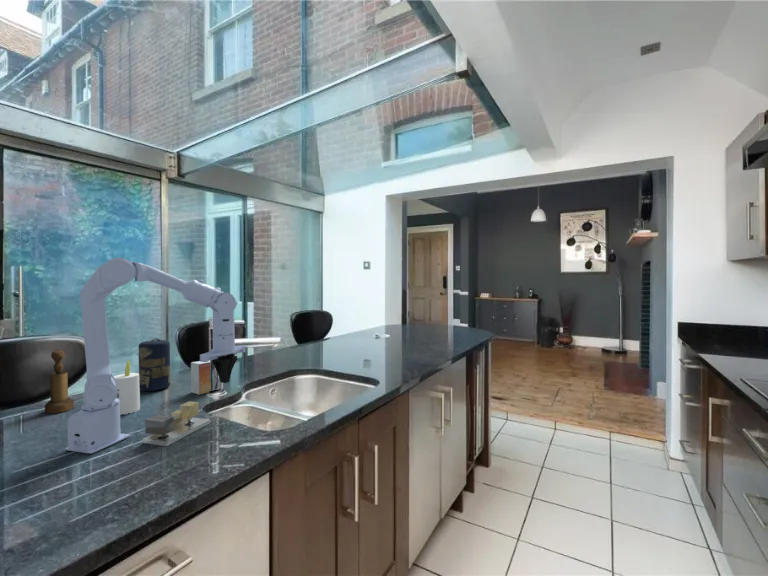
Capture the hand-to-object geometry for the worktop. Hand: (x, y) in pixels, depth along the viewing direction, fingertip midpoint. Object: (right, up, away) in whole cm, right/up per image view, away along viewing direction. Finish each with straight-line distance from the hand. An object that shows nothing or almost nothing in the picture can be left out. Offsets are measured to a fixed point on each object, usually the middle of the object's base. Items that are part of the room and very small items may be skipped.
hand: (224, 382), depth 104 cm
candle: (-31, -10, +4) cm, 33 cm away
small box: (-16, -9, +23) cm, 30 cm away
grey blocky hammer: (-7, -9, -12) cm, 16 cm away
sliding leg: (-7, -8, -8) cm, 13 cm away
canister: (-36, -9, +27) cm, 46 cm away
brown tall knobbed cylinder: (-52, -10, +6) cm, 54 cm away
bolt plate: (-6, -10, -12) cm, 16 cm away
